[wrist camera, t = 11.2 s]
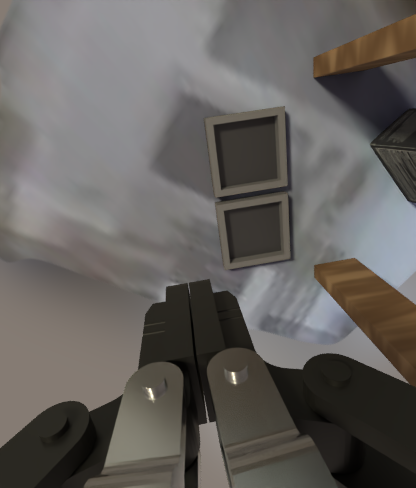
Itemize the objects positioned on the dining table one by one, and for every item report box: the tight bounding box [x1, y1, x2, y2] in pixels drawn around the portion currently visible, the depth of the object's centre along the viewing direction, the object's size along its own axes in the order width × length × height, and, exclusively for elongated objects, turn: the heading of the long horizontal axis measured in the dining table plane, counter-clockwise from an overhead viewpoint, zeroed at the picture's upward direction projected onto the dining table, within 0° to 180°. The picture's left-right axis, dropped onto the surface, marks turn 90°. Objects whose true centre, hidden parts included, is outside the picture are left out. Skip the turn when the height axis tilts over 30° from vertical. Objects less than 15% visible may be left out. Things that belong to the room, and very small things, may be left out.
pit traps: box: [204, 106, 290, 270], centre depth 39 cm, size 19×9×2 cm, turn 8°
